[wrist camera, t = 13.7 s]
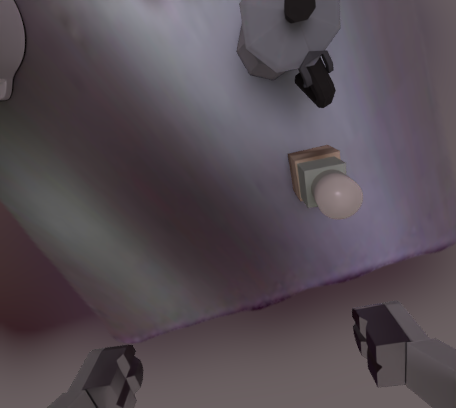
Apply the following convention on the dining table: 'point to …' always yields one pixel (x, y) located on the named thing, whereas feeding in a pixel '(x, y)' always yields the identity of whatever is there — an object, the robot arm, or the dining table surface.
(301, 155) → the tower base
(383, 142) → the dining table surface
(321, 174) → the grey rounded cylinder
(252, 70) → the coffee maker
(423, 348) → the robot arm
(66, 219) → the dining table surface
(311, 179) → the tower top
